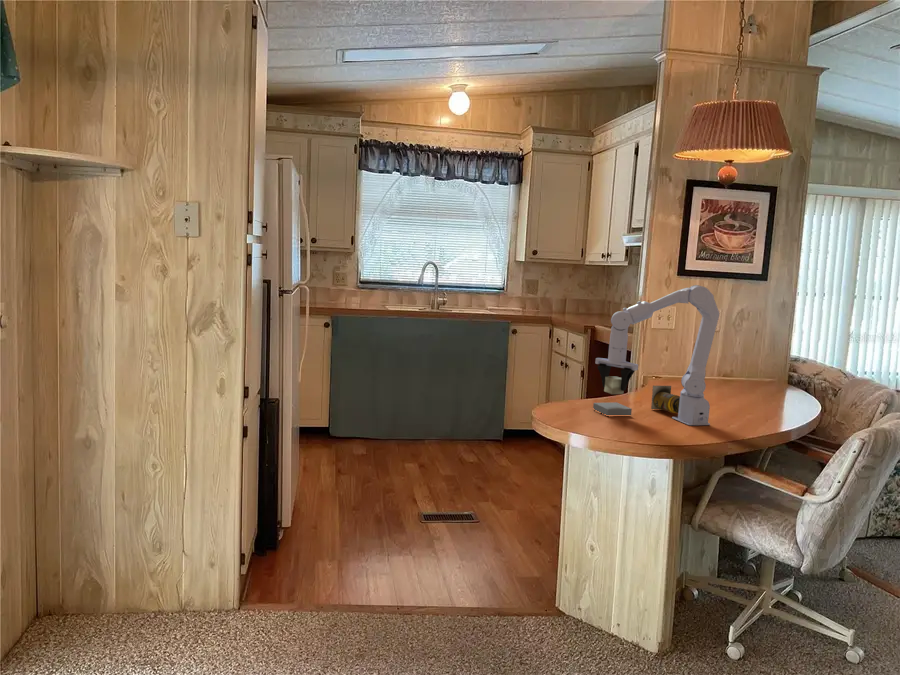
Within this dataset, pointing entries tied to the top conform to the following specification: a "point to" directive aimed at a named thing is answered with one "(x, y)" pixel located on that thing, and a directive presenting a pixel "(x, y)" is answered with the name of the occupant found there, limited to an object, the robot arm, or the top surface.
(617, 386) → the sage block
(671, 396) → the condiment
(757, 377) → the top surface
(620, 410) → the plate
